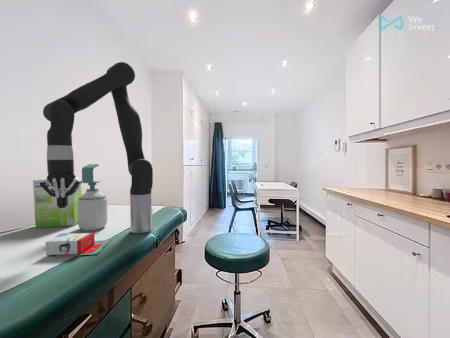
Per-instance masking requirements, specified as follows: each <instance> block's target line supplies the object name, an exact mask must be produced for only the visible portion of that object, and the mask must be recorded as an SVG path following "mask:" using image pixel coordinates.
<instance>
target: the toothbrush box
mask: <svg viewBox="0 0 450 338" xmlns="http://www.w3.org/2000/svg"><path fill="white" fill-rule="evenodd" d="M75 177H76V179H78V180H79V181H82V176H80V177H77V176H75ZM46 179H47V177H46V178H37V179H36V178H35V179H33V180H32V188H33V205H34V206H33V207H34V223H35V226H34V227H35V229H38V228H39V229H40V228H42V227H44V228H53V227H54V228H56V227H57V228H58V227H67V226H68V227H69V226H76V225H78V205H77V202H78V200H79V199H78V198H79V197H81V195H83V194H82V184H81V185H80V186H79V188H78V189H77V190H76V191H75V193H74V194H72V195H70V196H68V206H66V207H65V208H59V207H58V206H57V198H56V197H54V196H50V195H49V194H48V193H47V192H46V191H45V190H44V189H43V188H42V187H41V186H40V183H41V182H44V181H45V180H46ZM50 184H51V183H50ZM50 186H51V187H52V188H53V189H54V187H53V186H52V185H50ZM72 186H73V182H72V184H71V185H70V186H69V190H70V189H71V187H72Z"/></svg>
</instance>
